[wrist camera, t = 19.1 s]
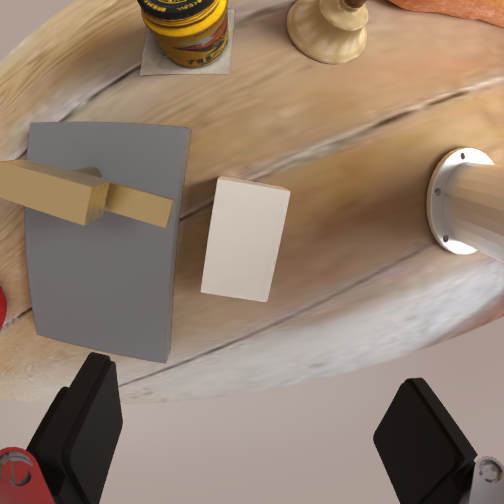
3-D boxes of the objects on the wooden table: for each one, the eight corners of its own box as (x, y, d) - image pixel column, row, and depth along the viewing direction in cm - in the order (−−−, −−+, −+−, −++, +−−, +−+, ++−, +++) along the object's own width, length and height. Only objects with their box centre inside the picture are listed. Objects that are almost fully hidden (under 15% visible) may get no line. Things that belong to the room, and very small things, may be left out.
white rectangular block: (283, 187, 29) (290, 191, 26) (263, 284, 32) (267, 302, 28) (220, 175, 29) (217, 178, 25) (204, 275, 32) (200, 292, 28)
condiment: (229, 74, 26) (227, 25, 14) (140, 76, 25) (88, 36, 14) (235, 10, 24) (237, -60, 12) (149, 12, 23) (111, -49, 11)
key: (59, 156, 24) (-1, 161, 15) (184, 189, 25) (161, 207, 17) (54, 181, 24) (-6, 196, 16) (176, 217, 26) (151, 246, 18)
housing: (191, 130, 27) (186, 127, 24) (170, 347, 34) (166, 363, 31) (45, 124, 25) (30, 122, 22) (48, 322, 32) (36, 334, 29)
